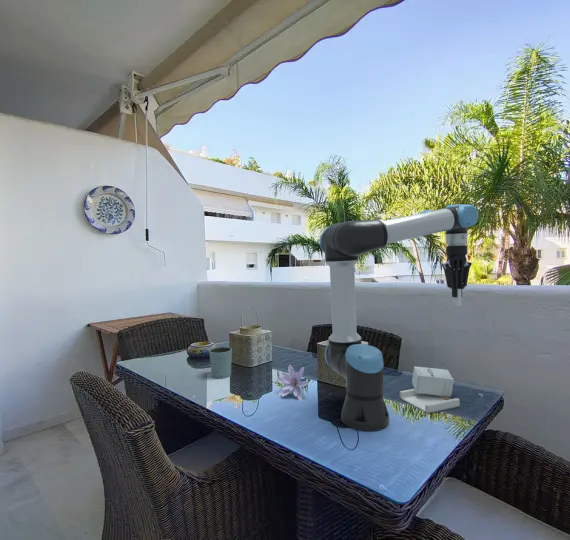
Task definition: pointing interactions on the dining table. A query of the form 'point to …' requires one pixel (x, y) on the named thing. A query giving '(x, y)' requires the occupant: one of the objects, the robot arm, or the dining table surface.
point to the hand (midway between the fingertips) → (457, 305)
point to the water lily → (292, 382)
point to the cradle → (428, 401)
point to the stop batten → (444, 397)
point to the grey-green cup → (220, 362)
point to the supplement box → (432, 381)
